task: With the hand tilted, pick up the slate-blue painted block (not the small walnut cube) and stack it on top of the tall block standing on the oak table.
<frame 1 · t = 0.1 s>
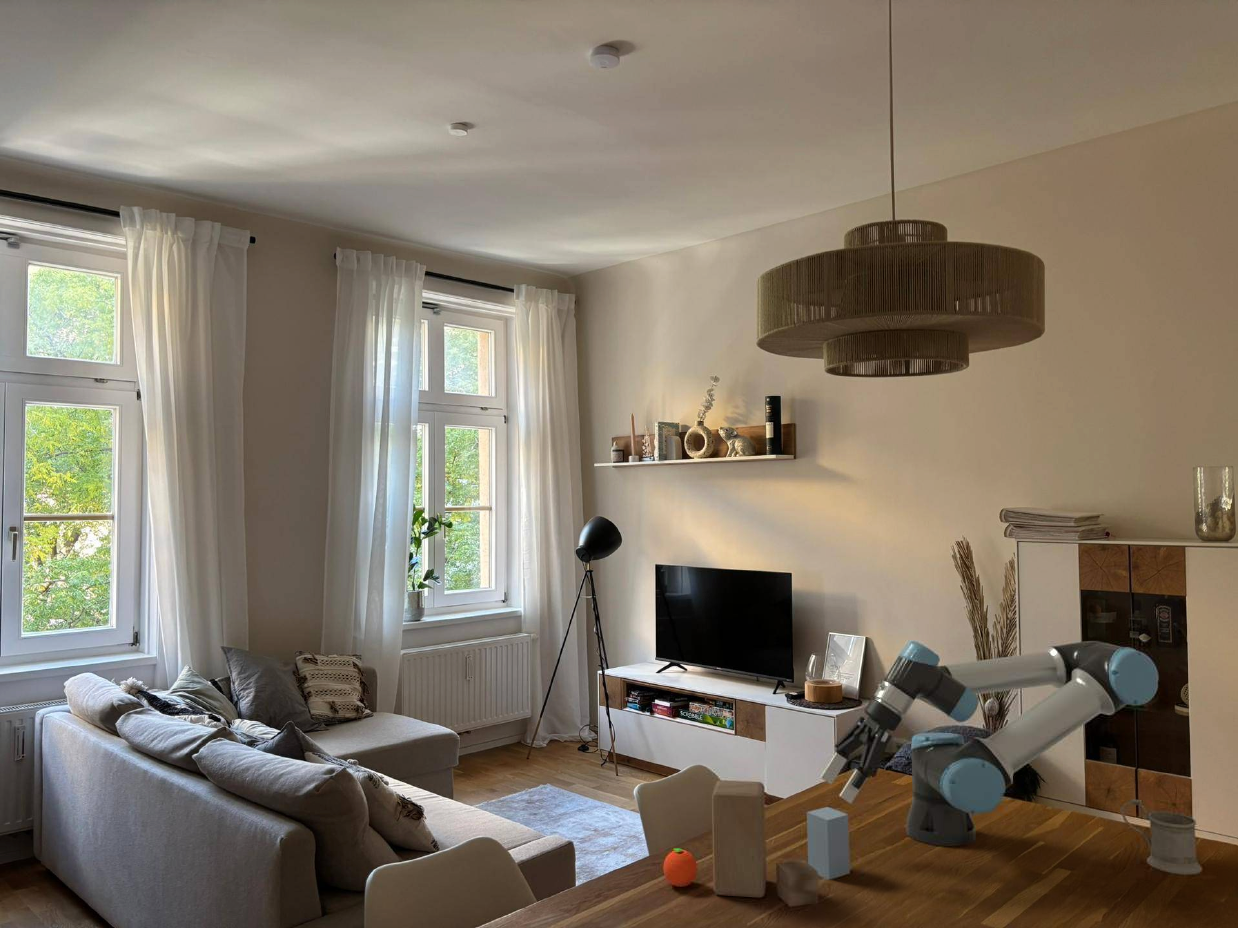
hand: (834, 790, 195), 15 cm above the table, tool tilted 35°, fingers open, 13 cm apart
mug: (1161, 863, 191), on the table
slate block: (828, 871, 189), on the table
clementine: (679, 885, 184), on the table
walnut cube: (797, 898, 177), on the table
block: (740, 888, 182), on the table
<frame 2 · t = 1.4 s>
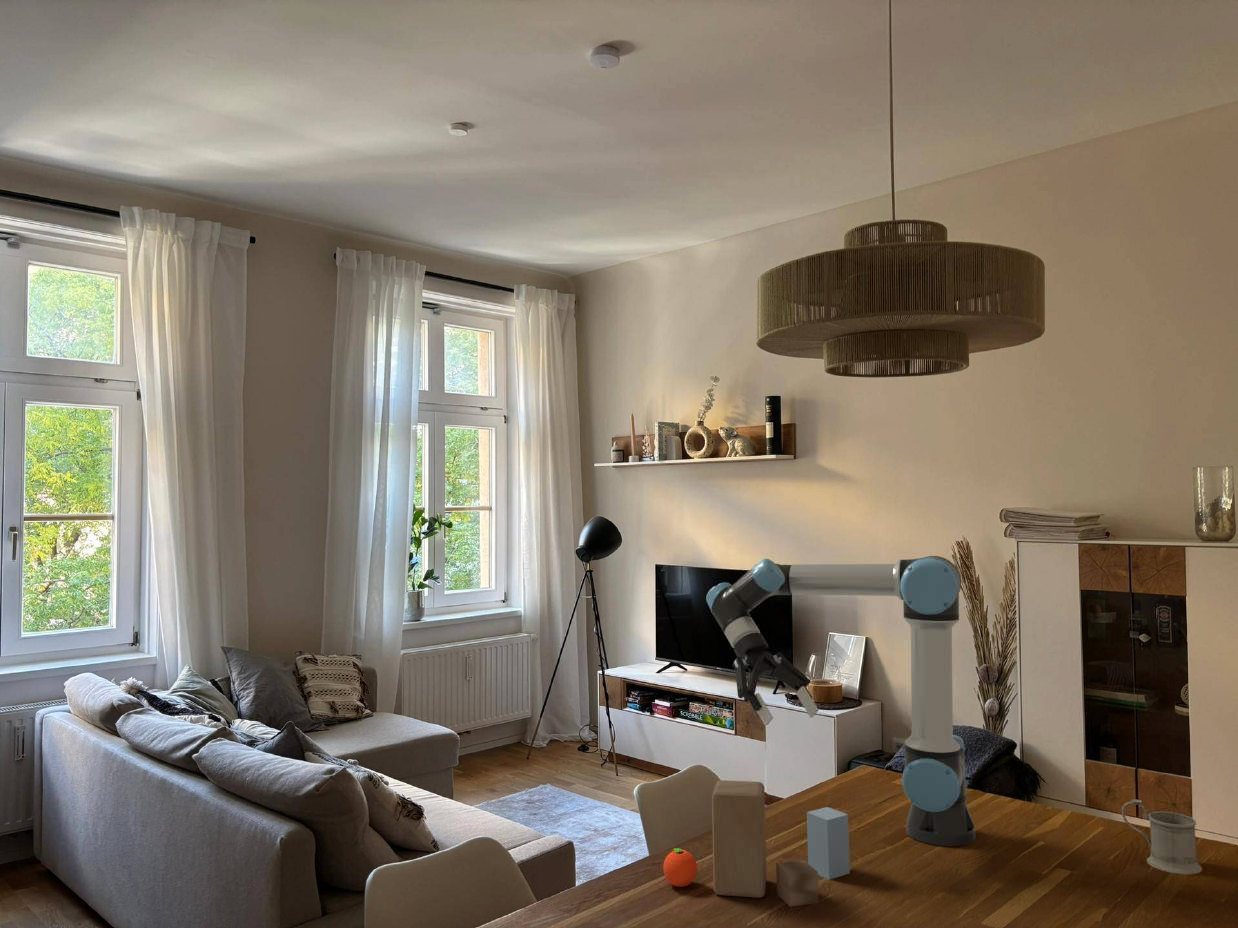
hand: (792, 717, 200), 30 cm above the table, tool tilted 45°, fingers open, 13 cm apart
nothing on the table moved.
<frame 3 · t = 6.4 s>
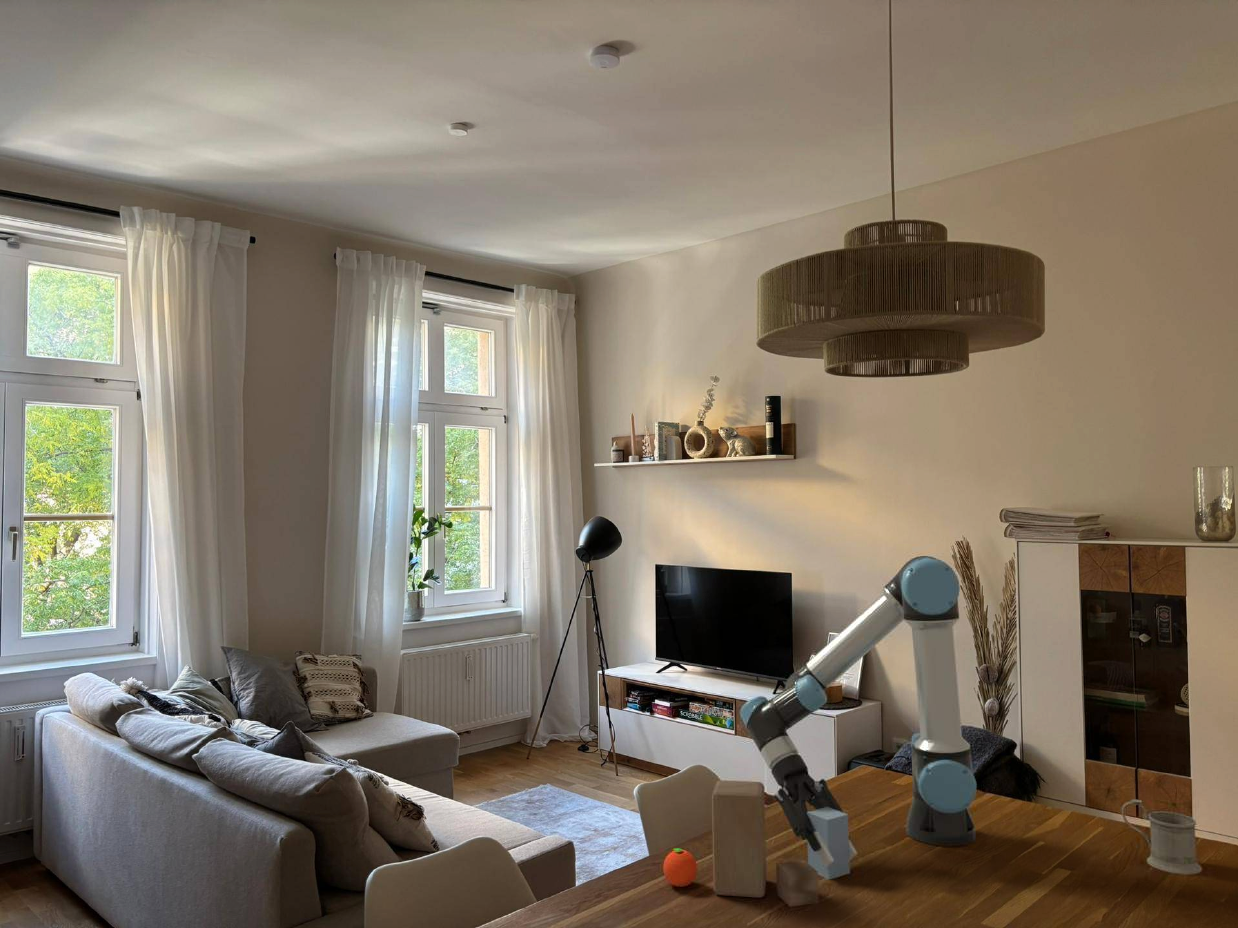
hand: (841, 860, 186), 3 cm above the table, tool tilted 45°, fingers closed on slate block, 6 cm apart
slate block: (828, 871, 189), on the table, touching gripper
everything else where it was.
when the fingers open (25 cm above the table, at t = 14.4 s): slate block drops 2 cm, resting on block.
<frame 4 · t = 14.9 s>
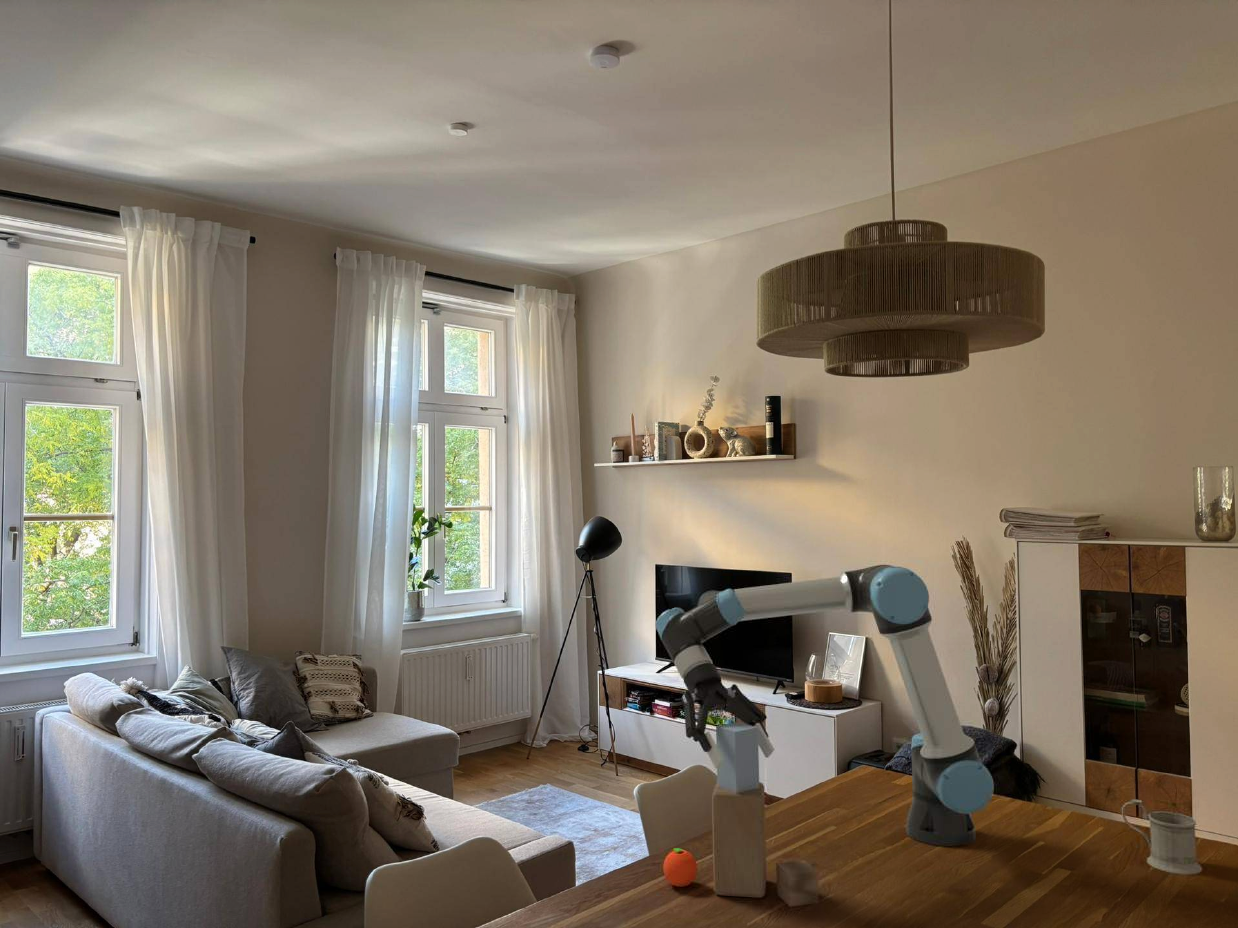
hand: (745, 758, 181), 26 cm above the table, tool tilted 45°, fingers open, 12 cm apart
slate block: (738, 786, 183), point 20 cm above the table, touching block
block: (740, 888, 182), on the table, touching slate block
everything else where it was.
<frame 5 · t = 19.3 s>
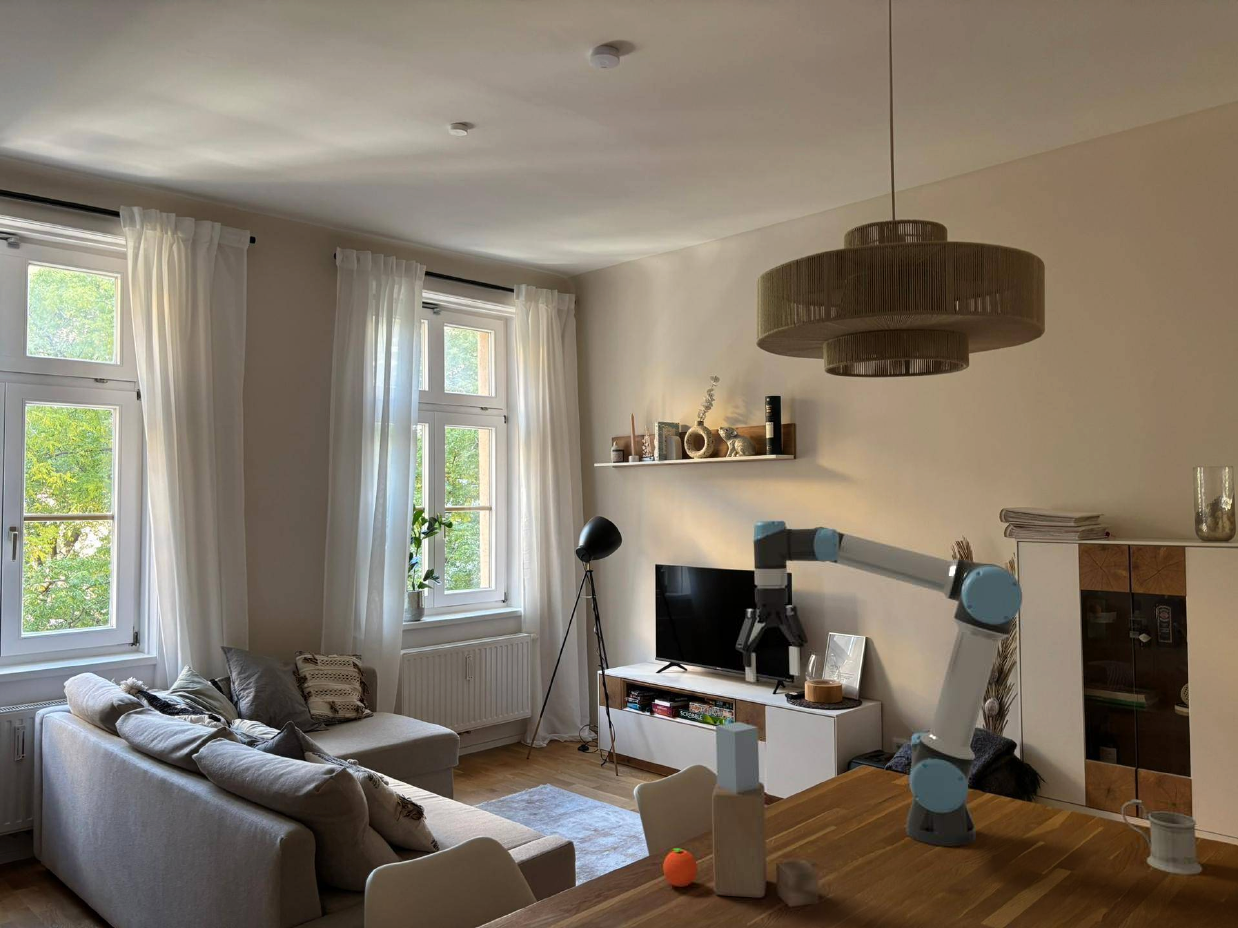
hand: (773, 678, 211), 37 cm above the table, tool pointing down, fingers open, 13 cm apart
nothing on the table moved.
at the end: slate block inside the target area on the block (0.1 cm from its centre), point 20.2 cm above the block's base; slate block tilted 0°; the gripper is holding nothing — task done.
